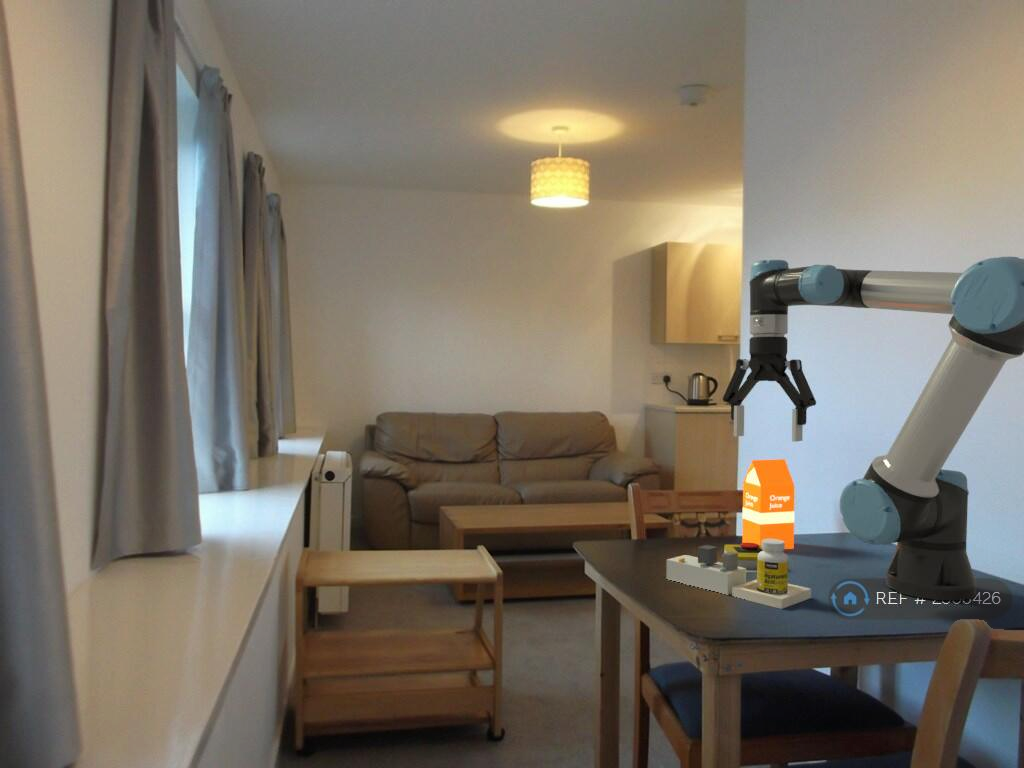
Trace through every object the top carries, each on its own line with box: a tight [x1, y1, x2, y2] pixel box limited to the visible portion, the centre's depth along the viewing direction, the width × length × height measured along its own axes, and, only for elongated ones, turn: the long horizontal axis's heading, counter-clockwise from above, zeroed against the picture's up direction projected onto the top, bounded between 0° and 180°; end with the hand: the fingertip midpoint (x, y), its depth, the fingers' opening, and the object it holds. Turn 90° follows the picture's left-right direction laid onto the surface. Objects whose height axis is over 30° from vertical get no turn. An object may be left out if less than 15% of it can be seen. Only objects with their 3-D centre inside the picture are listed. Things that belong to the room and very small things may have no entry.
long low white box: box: [666, 552, 747, 596], centre depth 162 cm, size 14×6×7 cm, turn 41°
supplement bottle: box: [756, 539, 789, 596], centre depth 153 cm, size 5×5×10 cm
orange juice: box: [741, 458, 796, 550], centre depth 194 cm, size 8×9×20 cm
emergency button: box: [721, 542, 763, 574], centre depth 178 cm, size 9×4×15 cm
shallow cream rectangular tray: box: [731, 579, 812, 610], centre depth 153 cm, size 10×10×2 cm
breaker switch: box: [697, 544, 718, 565], centre depth 161 cm, size 2×3×3 cm
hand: (767, 438), depth 175 cm, fingers open, 13 cm apart
